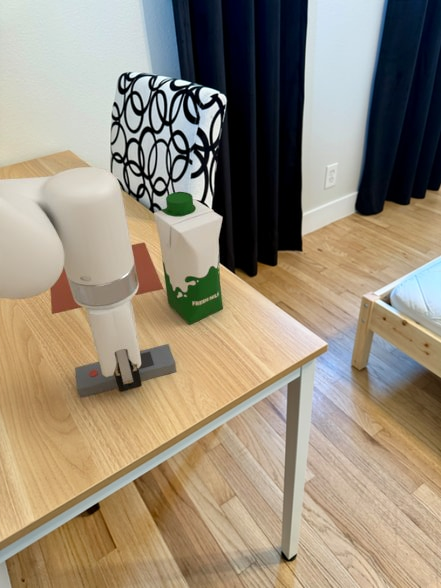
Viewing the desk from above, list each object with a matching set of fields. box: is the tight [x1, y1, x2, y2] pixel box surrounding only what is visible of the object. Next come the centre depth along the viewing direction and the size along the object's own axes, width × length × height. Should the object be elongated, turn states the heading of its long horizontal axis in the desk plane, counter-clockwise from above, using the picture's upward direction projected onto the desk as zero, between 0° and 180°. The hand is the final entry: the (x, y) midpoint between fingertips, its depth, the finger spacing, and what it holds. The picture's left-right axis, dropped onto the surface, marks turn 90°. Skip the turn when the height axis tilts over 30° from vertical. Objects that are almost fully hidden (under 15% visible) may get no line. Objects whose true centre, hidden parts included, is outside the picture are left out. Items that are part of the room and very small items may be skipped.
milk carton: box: [153, 191, 224, 326], centre depth 69 cm, size 9×9×20 cm
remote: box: [74, 343, 177, 399], centre depth 63 cm, size 14×4×2 cm, turn 109°
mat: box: [50, 242, 164, 315], centre depth 84 cm, size 20×18×1 cm
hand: (129, 384), depth 60 cm, fingers closed
